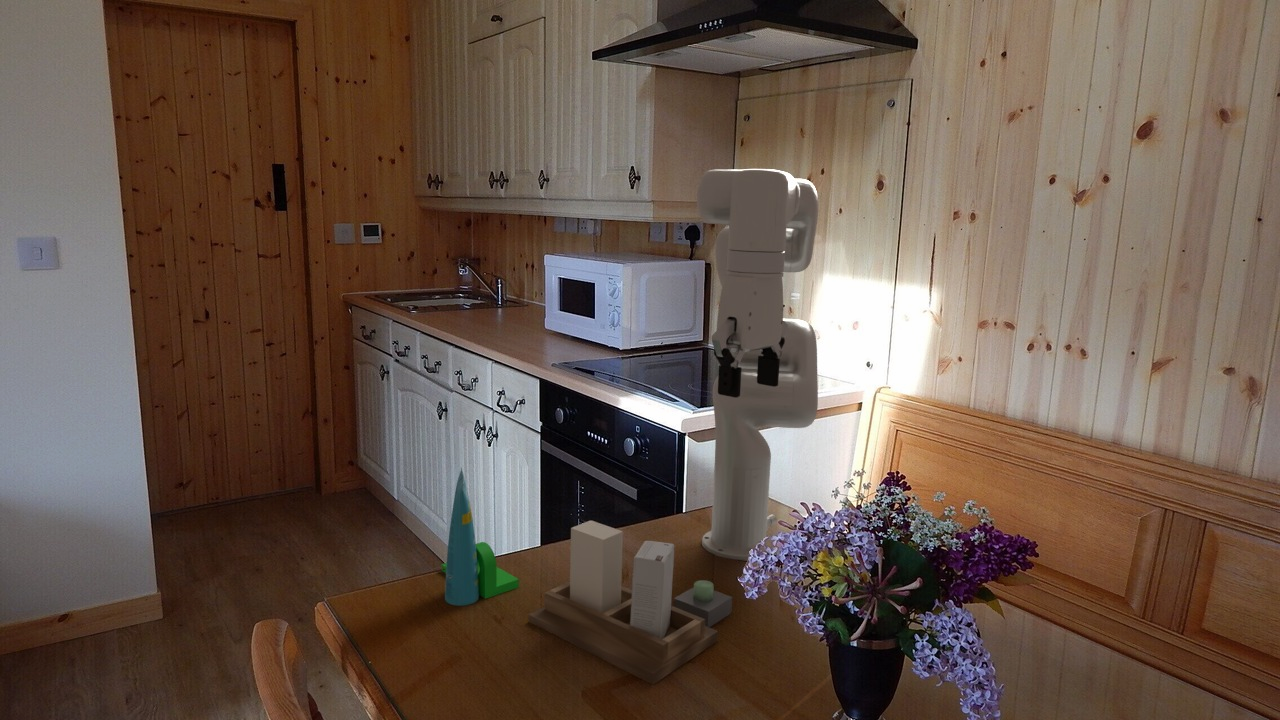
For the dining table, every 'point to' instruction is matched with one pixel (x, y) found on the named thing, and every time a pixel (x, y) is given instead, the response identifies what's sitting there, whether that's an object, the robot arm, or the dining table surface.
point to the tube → (461, 551)
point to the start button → (703, 591)
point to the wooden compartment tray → (624, 634)
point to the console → (705, 606)
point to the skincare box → (652, 588)
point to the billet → (596, 566)
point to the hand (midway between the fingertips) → (748, 390)
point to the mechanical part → (491, 573)
